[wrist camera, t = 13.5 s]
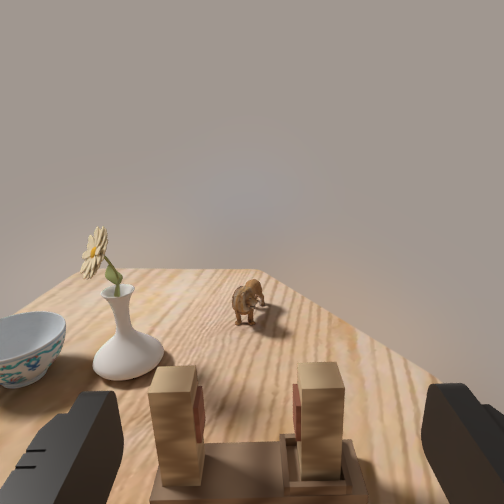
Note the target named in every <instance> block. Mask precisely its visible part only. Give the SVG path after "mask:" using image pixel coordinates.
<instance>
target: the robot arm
mask: <svg viewBox="0 0 504 504" xmlns="http://www.w3.org/2000/svg"><path fill="white" fill-rule="evenodd" d="M421 440H422V446H423V450H424V453H425V456H426V458H427V460H428V462H429V464H430V466H431V468H432V470H433V472H434V474H435V476H436V478H437V480H438V482H439V484H440V486H441V488H442V490H443V491H444V493H445V495H446V497H447V499H448V501H449V503H450V504H504V415H503V414H502V413H500V412H499V411H498V410H496V409H495V408H493V407H492V406H491V405H489V404H484V405H481V404H480V402H479V401H478V400H477V399H476V397H475V396H474V395H473V393H472V392H471V391H470V390H469V388H468V387H467V386H466V385H465V384H462V383H448V384H431V385H430V386H429V388H428V392H427V398H426V404H425V410H424V416H423V422H422V428H421ZM123 448H124V437H123V431H122V426H121V420H120V415H119V409H118V404H117V398H116V395H115V393H114V391H84V392H81V393H80V394H79V396H78V397H77V399H76V401H75V402H74V404H73V406H72V407H71V409H70V411H69V412H68V413H67V414H57V415H56V416H55V417H54V418H53V419H52V420H50V421H49V422H48V423H47V424H46V425H45V426H43V427H42V428H41V429H40V430H39V431H38V433H37V434H36V436H35V437H34V439H33V440H32V442H31V443H30V445H29V446H28V448H27V449H26V454H23V456H22V457H21V459H20V460H19V462H18V463H17V465H16V466H15V467H16V468H15V470H14V471H12V472H11V474H10V475H9V477H8V478H7V480H6V481H5V483H4V485H3V486H2V488H1V489H0V504H106V502H107V500H108V497H109V494H110V491H111V489H112V486H113V483H114V480H115V478H116V475H117V472H118V469H119V467H120V464H121V460H122V456H123Z"/></svg>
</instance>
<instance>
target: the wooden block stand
mask: <svg viewBox="0 0 504 504" xmlns="http://www.w3.org/2000/svg"><path fill="white" fill-rule="evenodd" d="M148 398H149V404H150V411H151V417H152V423H153V430H154V436H155V442H156V449H157V455H158V461H159V466H158V470H157V474H156V478H155V481H154V485H153V489H152V493H151V496H150V500H149V501H150V504H367V503H368V492H367V489H366V486H365V483H364V479H363V476H362V473H361V469H360V466H359V463H358V459H357V456H356V453H355V450H354V446H353V443H352V440H351V439H347V440H342V454H341V473H340V480H339V481H302V482H301V478H300V470H299V463H298V455H297V441H296V437H295V434H280V441H277V442H241V443H206V444H204V438H203V432H204V426H205V410H204V400H203V390H202V386H198V380H197V371H196V366H164V367H157V369H156V372H155V375H154V377H153V380H152V383H151V385H150V388H149V391H148Z"/></svg>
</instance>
